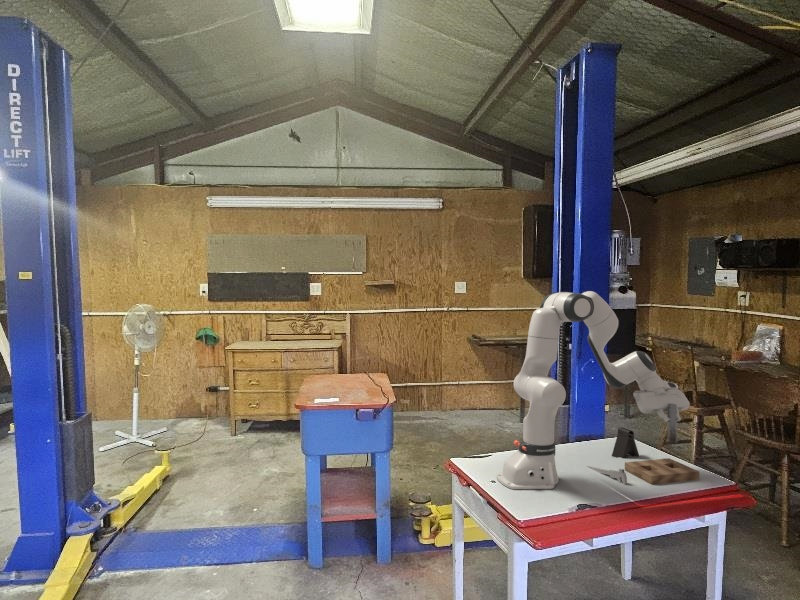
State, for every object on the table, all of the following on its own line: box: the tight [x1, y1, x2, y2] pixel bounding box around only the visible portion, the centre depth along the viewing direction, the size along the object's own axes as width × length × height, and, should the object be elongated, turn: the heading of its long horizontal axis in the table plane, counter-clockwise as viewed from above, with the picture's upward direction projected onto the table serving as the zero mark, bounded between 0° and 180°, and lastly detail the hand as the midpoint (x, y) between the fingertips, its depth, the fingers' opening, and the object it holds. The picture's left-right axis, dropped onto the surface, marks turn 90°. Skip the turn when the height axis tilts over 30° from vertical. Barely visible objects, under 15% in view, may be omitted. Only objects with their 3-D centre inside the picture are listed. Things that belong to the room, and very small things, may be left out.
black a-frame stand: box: [611, 426, 640, 459], centre depth 197 cm, size 9×6×12 cm, turn 106°
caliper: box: [585, 465, 628, 486], centre depth 176 cm, size 20×1×6 cm, turn 20°
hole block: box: [624, 457, 700, 486], centre depth 175 cm, size 20×14×4 cm
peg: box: [667, 404, 678, 444], centre depth 176 cm, size 3×3×14 cm
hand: (673, 420), depth 176 cm, fingers closed on peg, 3 cm apart
